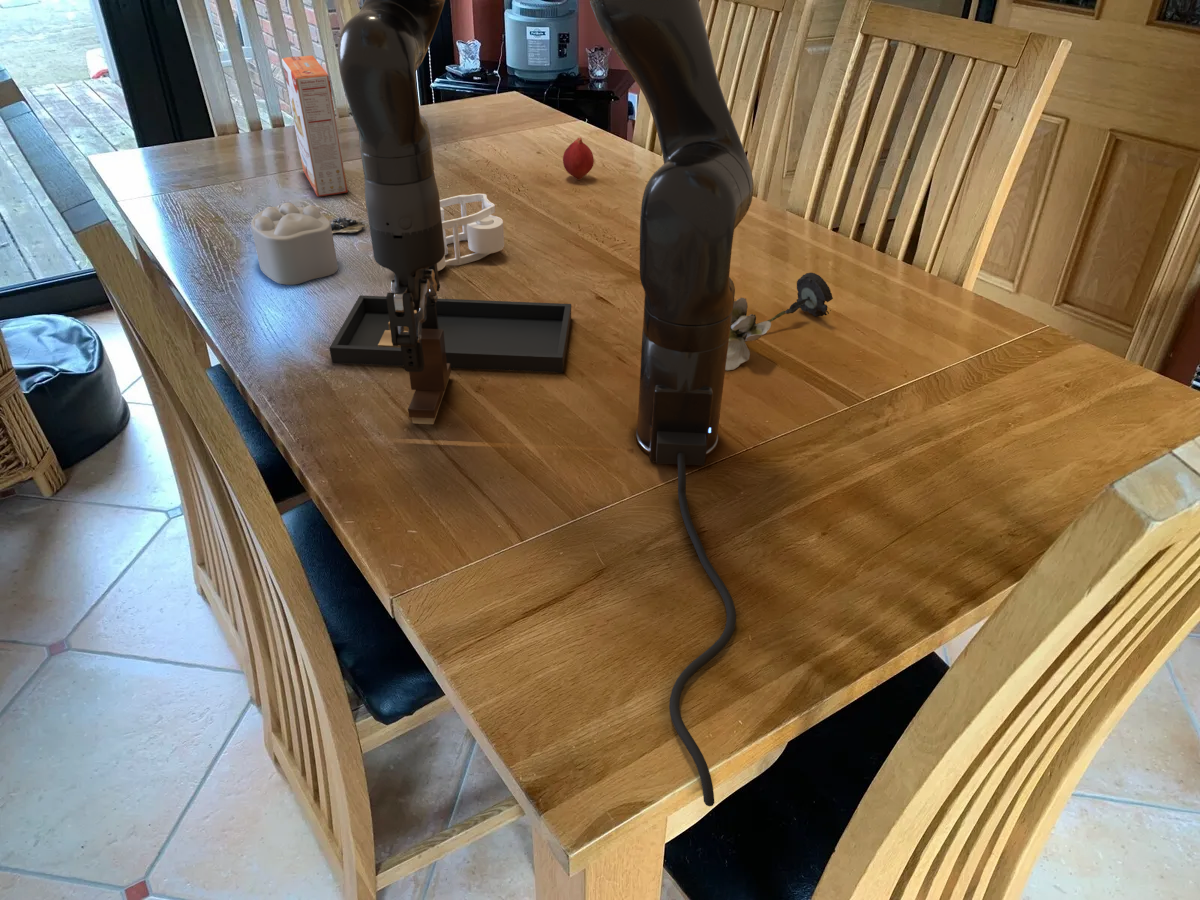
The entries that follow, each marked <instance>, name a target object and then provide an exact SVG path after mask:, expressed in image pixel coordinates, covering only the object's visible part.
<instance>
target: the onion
mask: <svg viewBox="0 0 1200 900" xmlns="http://www.w3.org/2000/svg"><path fill="white" fill-rule="evenodd" d="M593 154H594V153H593V151H592V149H591V148H590V147H589V146H588V145H587V144H585V143H584V142H583V139H582V137H577V138H576V139H575V140H574V141H573V142H571V143H570V144H569V146H567V148H565V150H564V152H563V155H562V163H563V167H564V169H565V171H566V172H567V173H568V174H569V175H570V176H572V177H573V178H575V179H576V180H577V181H578V180H579V181H580V180H582V179H583V178H584V177H585V176H586V175H588V174H589V173H590V172H591V171H592V169H593V167H594V163H595V160H594V159H595V158H594V155H593Z"/></svg>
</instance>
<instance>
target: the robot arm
mask: <svg viewBox="0 0 1200 900" xmlns="http://www.w3.org/2000/svg"><path fill="white" fill-rule="evenodd" d="M445 3H446V0H364V2H363V5H362V6H361V8H360V10H359V11H358V12H357V13H356V14H355V15H354V16H352V17H351V18H350V19H349V20H348V21H347V22H346V23H345V24H344V26H343V27H342V29H341V31H340V34H339V38H338V42H337V63H338V69H339V76H340V79H341V84H342V87H343V91H344V94H345V97H346V100H347V104H348V106H349V110H350V113H351V116H352V119H353V121H354V123H355V126H356V129H357V132H358V143H359V150H360V151H359V152H360V158H361V165H362V172H363V175H364V176H363V177H364V199H365V208H366V214H367V221H368V227H369V233H370V239H371V245H372V253H373V258H374V261H375V263H376V264H377V265H379V266H381V267H382V268H385V269H387V270H389V271H391V272H392V273H393V275H394V274H395V275H394V276H393V277H394V278H392V279H391V283H390V286H391V287H390V292H386V301H387V306H388V314H389V322H390V329H391V337H392V344H393V346H401V352H402V359H403V366H402V367H403V369H404V371H405V372H408V373H409V372H422V371H423V369H424V366H425V364H424V356H423V349H422V341H421V340H422V335H421V331H422V329H439V328H438V319H437V310H436V304H434V303H437V300H438V299H439V296H438V294H437V293H438V292H440V289H441V284H440V278H439V271H438V270H437V263H438V262H439V261H441V260H442V258H443V257H444V254H445V248H444V238H443V228H442V219H441V209H440V200H441V199H440V194H439V187H438V183H437V179H436V175H435V166H434V157H433V149H432V148H433V147H432V141H431V133H430V129H429V126H428V122H427V120H426V119H425V117H424V116H423V115H422V114H421V112H420V111H421V110H420V104H419V96H418V90H417V82H416V80H417V79H416V72H417V70H419V68H420V66H421V65H422V63H423V61H424V59H425V57H426V54H427V52H428V49H429V48H430V45H431V42H432V40H433V38H434V34H435V32H436V29H437V26H438V23H439V20H440V18H441V15H442V11H443V9H444V5H445ZM589 4H590V6H591V9H592V11H593V14H594V17H595V19H596V21H597V23H598V26H599V28H600V30H601V32H602V33H603V35H604V37H605V39H606V40H607V42H608V44H609V45H610V46H611V48H612V50H613V51H614V52H615V54H616V56H617V57H618V58H619V60H620V61H621V63H622V64H623V65H624V67H625V68H626V69H627V71H628V72H629V74H630V75H631V77H632V78H633V80H634V81H635V82H636V85H638V87H639V89H640V91H641V93H642V94H643V97H644V98H645V101H646V103H647V106H648V108H649V110H650V113H651V116H652V119H653V123H654V126H655V130H656V134H657V138H658V141H659V145H660V149H661V154H662V155H661V156H662V159H663V164H662V165H661V166H660V167H659V168H658V169H657V170H656V171H655V172H654V173H653V174H652V175H651V176H650V178H649V179H648V181H647V183H646V185H645V187H644V190H643V195H642V200H641V205H640V206H641V207H640V215H639V216H640V217H639V218H640V219H639V221H640V222H639V279H640V283H641V286H642V289H643V291H644V301H643V302H644V303H643V318H642V334H641V349H640V350H641V351H640V353H641V354H640V367H639V369H640V370H639V371H640V372H639V387H638V389H639V390H638V403H637V404H638V406H637V426H636V430H635V439H636V443H637V445H638V447H639V448H640V449H641V450H642V451H643V452H645V453H646V454H647V455H648V456H649V461H650V462H655V464H660V465H661V464H662V465H677V497H678V503H679V508H680V514H681V517H682V521H683V523H684V527H685V529H686V531H687V534H688V536H689V538H690V540H691V542H692V545H693V548H694V551H695V552H696V555H697V556H698V559H699V561H700V563H701V566H702V567H703V569H704V571H705V573H706V574H707V576H708V577H709V579H710V580H711V582H712V583H713V585H714V586H715V588H716V589H717V591H718V592H719V595H720V597H721V598H722V601H723V604H724V607H725V612H726V613H725V614H726V621H725V627H724V629H723V632H722V633H721V635H720V637H718V639H717V640H716V641H715V642H714V643H713V644H712V645H711V646H710V647H709V648H708V649H706V650H705V651H704V652H702V653H701V654H700V655H699V656H698V657H696V658H695V659H694V660H693V661H691V662H690V663H689V665H687V666H686V667H685V668H684V669H683V670H682V672H681V673H680V674H679V676H678V677H677V678H676V680H675V683H674V684H673V687H672V688H671V693H670V696H669V704H668V707H669V715H670V719H671V722H672V724H673V727H674V730H675V731H676V734H677V735H678V737H679V738H680V739H681V741H682V743H683V744H684V746H685V748H686V749H687V751H688V753H689V754H690V756H691V758H692V760H693V762H694V764H695V766H696V768H697V773H698V775H699V778H700V784H701V788H702V797H703V803H704V804H705V806H707V807H713V806H714V805H715V793H714V792H715V791H714V785H713V781H712V775H711V772H710V770H709V767H708V763H707V762H706V761H707V760H706V759H705V757H704V754H703V753H702V751H701V749H700V747H699V746H698V744H697V742H696V741H695V739H694V737H693V736H692V734H691V732H689V730H688V728H687V726H686V725H685V723H684V721H683V718H682V715H681V707H680V704H681V697H682V692H683V690H684V688H685V686H686V685H687V683H688V682H689V680H690V679H691V678H692V677H693V676H694V675H695V674H696V673H697V672H698V671H700V669H702V668H703V667H704V666H705V665H706V664H707V663H708V662H710V661H712V659H714V658H715V657H716V656H717V655H719V653H720V652H722V650H723V649H724V648H725V647H726V646H727V645H728V643H729V642H730V640H731V638H732V636H733V634H734V632H735V628H736V624H737V611H736V605H735V602H734V600H733V597H732V595H731V593H730V591H729V589H728V587H727V586H726V585H725V582H724V581H723V579H722V578H721V577H720V575H719V574H718V572H717V570H716V569H715V568H714V567H713V565H712V563H711V561H710V559H709V557H708V555H707V552H706V551H705V548H704V546H703V544H702V541H701V539H700V537H699V535H698V532H697V530H696V527H695V526H694V523H693V520H692V517H691V514H690V510H689V505H688V500H687V472H686V471H687V470H686V466H705V464H706V460H707V457H709V456H710V455H711V454H713V452H715V450H716V449H717V446H718V443H719V442H718V441H719V427H720V418H721V410H722V409H721V408H722V401H723V391H724V384H725V375H726V370H725V368H726V359H727V351H728V343H729V336H730V327H731V319H732V311H733V304H734V301H735V294H736V287H735V283H734V281H733V279H732V278H731V277H730V274H731V273H730V271H731V263H732V249H733V242H734V234H735V229H736V228H737V227H738V226H739V225H740V223H741V222H742V221H743V219H744V218H745V216H746V215H747V213H748V211H749V209H750V207H751V204H752V201H753V196H754V188H755V187H754V176H753V172H752V168H751V165H750V162H749V159H748V156H747V154H746V151H745V148H744V146H743V143H742V141H741V137H740V136H739V133H738V130H737V127H736V125H735V123H734V120H733V118H732V115H731V112H730V109H729V107H728V104H727V102H726V99H725V96H724V93H723V90H722V88H721V85H720V81H719V78H718V74H717V70H716V67H715V63H714V59H713V54H712V48H711V44H710V40H709V36H708V33H707V29H706V24H705V20H704V17H703V13H702V9H701V5H700V2H699V0H589ZM414 310H416V311H417V313H414ZM404 326H405V327H408V328H409V332H404Z"/></svg>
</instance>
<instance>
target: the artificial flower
mask: <svg viewBox="0 0 1200 900" xmlns="http://www.w3.org/2000/svg"><path fill="white" fill-rule="evenodd" d="M796 291H797V299H796V301H795V302H793V303H792V304H791V305H790V306H789V308H787V309H786V310H783V311H781V312H779V313H777V314H775V316H773V317H771V319H768V320H763V321H761V322H758V323H756V322H757V321H756V320H757V316H756V314H753V313H751V314H749V315H748V314H747V313H748V300H747V298H745V297H739V298H738V299H737V300H734V304H733V311H732V319H731V327H730V336H729V343H728V351H727V359H726V368H725V371H727V372H729V371H733V370H736V369H737V368H738V367H740V365H741V364H743V363H745V362H748V361H749V360H750V357H751V352H750V349H749V348H748V346H747V343H746V342H754V341H758V340H759V339H760V338H761V337H762V336H765V335H766V334H767V332H768V331H769V330H770V329H771V327H772V322H774V321H775V320H777V319H778V318H780V317H782V316H784V315H789V314H794V313H795V312H797V311H798V310H799V309H800V310H801V311H802V312H804V313H808V314H810V315H812V316H814V317H816V318H817V317H824V316H828V315H829V314H830V312H831V311H832V310H831V309H829V311H828V305H827V304H825V303H829V302H830V301H832V300H833V299H834V297H833V294H832V291H831V288H830V286H829V285H828V284H827V282H826V281H825V280H824V278H822V276H821V275H819V274H817V273H815V272H806V273H804V274H802V275H801V277H800V278H798V279H797V280H796Z"/></svg>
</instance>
